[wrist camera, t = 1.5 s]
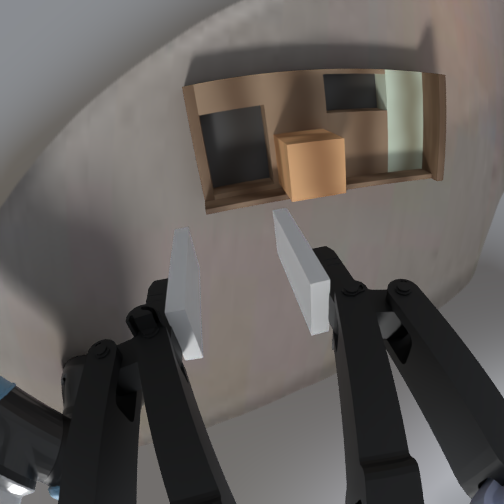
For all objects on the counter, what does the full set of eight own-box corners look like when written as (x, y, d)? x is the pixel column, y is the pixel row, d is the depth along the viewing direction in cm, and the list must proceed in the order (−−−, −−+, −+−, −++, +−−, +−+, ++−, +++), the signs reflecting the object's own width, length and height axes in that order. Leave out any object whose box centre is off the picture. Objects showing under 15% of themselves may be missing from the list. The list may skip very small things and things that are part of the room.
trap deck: (205, 197, 33) (206, 219, 28) (183, 86, 27) (179, 87, 22) (416, 165, 34) (442, 180, 30) (415, 71, 28) (445, 74, 23)
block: (279, 183, 31) (292, 201, 26) (273, 134, 28) (286, 145, 24) (326, 176, 31) (346, 193, 27) (323, 128, 28) (344, 138, 24)
